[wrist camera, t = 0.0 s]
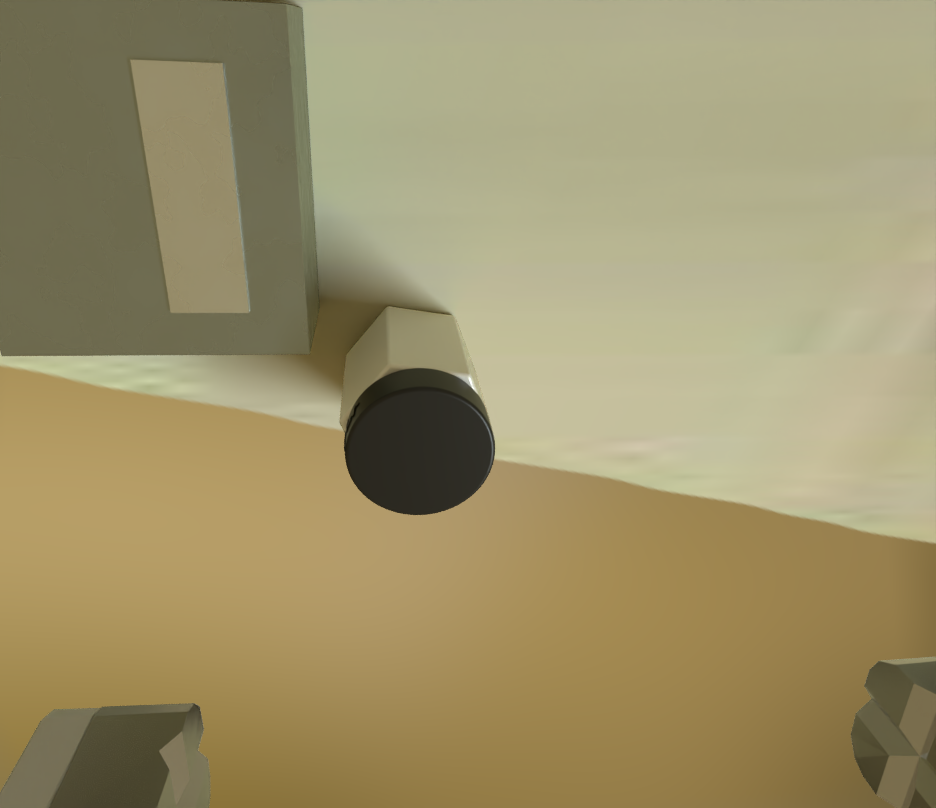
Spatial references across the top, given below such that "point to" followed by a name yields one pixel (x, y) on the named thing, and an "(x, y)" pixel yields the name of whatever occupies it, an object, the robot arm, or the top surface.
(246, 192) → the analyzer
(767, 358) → the top surface
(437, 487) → the jar
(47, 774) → the robot arm
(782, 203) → the top surface
